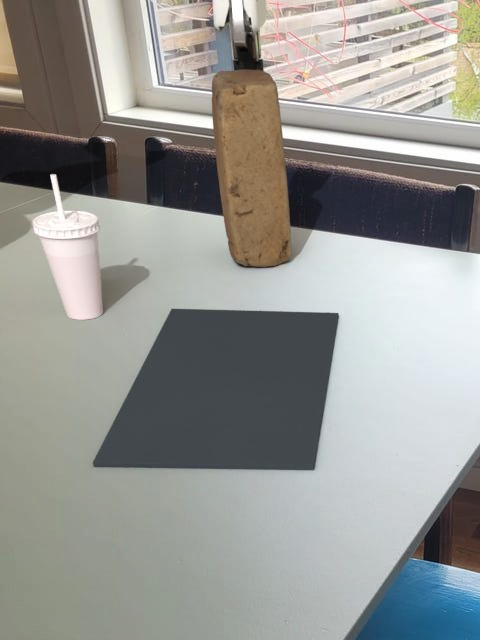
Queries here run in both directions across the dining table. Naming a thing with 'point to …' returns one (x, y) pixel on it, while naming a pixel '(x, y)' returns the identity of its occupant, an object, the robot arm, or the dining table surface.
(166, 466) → the mat
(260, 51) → the robot arm
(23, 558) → the dining table surface
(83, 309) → the smoothie
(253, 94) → the block
